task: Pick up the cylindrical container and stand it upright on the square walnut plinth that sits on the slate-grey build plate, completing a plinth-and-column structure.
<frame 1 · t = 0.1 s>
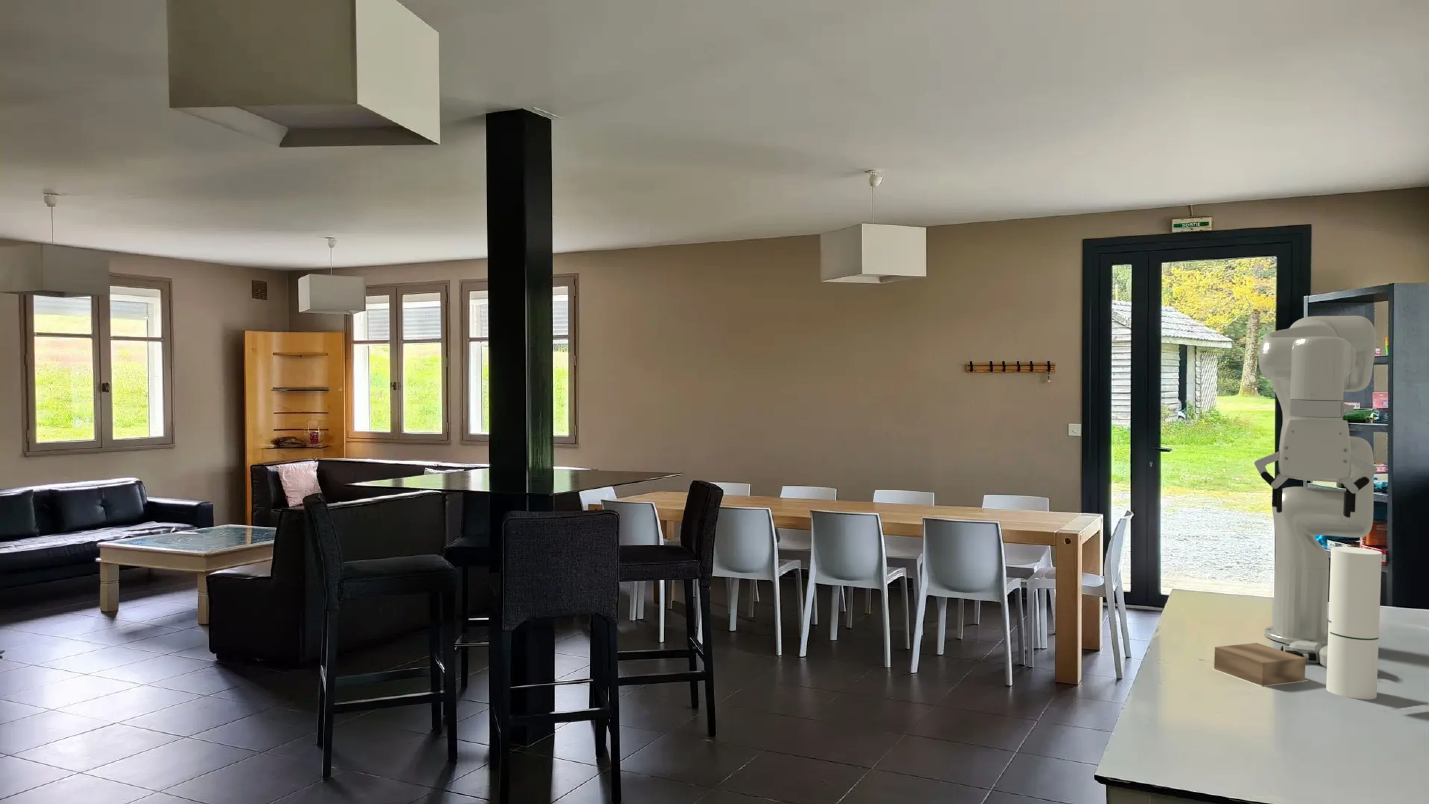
hand: (1312, 514, 161), 31 cm above the table, tool pointing down, fingers open, 9 cm apart
robot toy: (1325, 669, 181), on the table
cylindrical container: (1350, 698, 164), on the table
build plate: (1258, 679, 173), on the table
plinth: (1258, 674, 173), point 1 cm above the table, touching build plate
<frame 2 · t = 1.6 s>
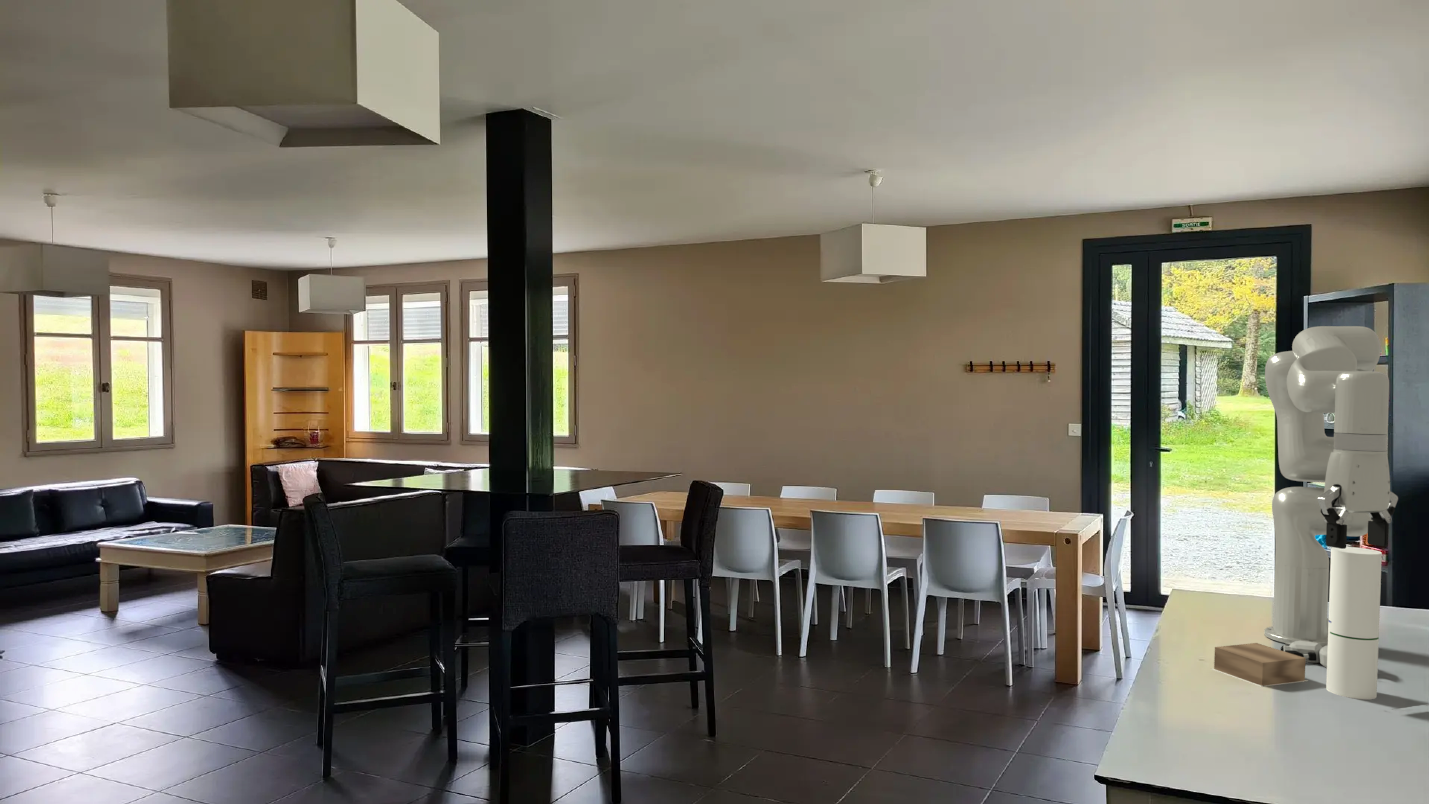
hand: (1357, 546, 163), 26 cm above the table, tool pointing down, fingers open, 9 cm apart
nothing on the table moved.
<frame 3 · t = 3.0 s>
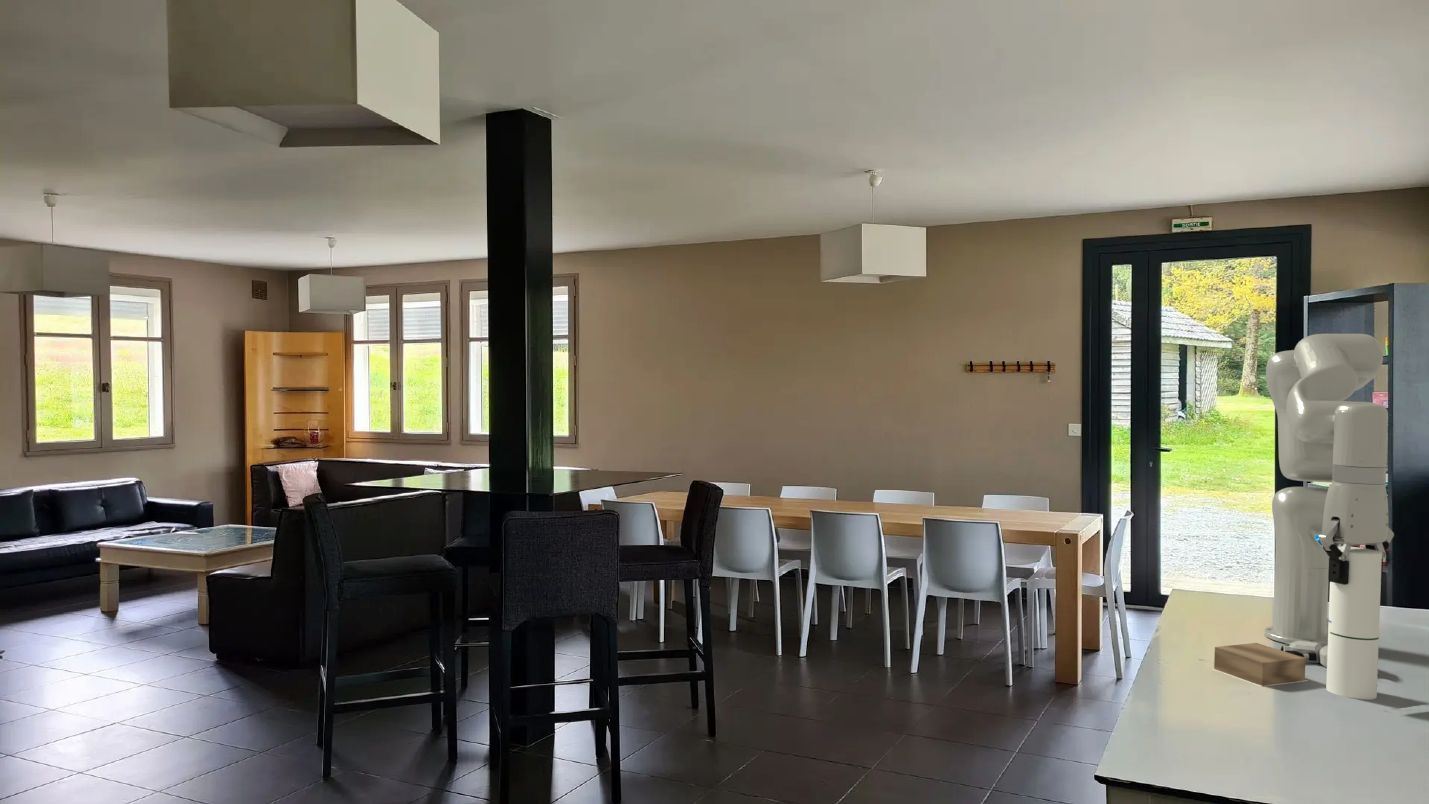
hand: (1355, 580, 164), 20 cm above the table, tool pointing down, fingers closed on cylindrical container, 7 cm apart
cylindrical container: (1351, 698, 164), on the table, touching gripper
everything else where it was.
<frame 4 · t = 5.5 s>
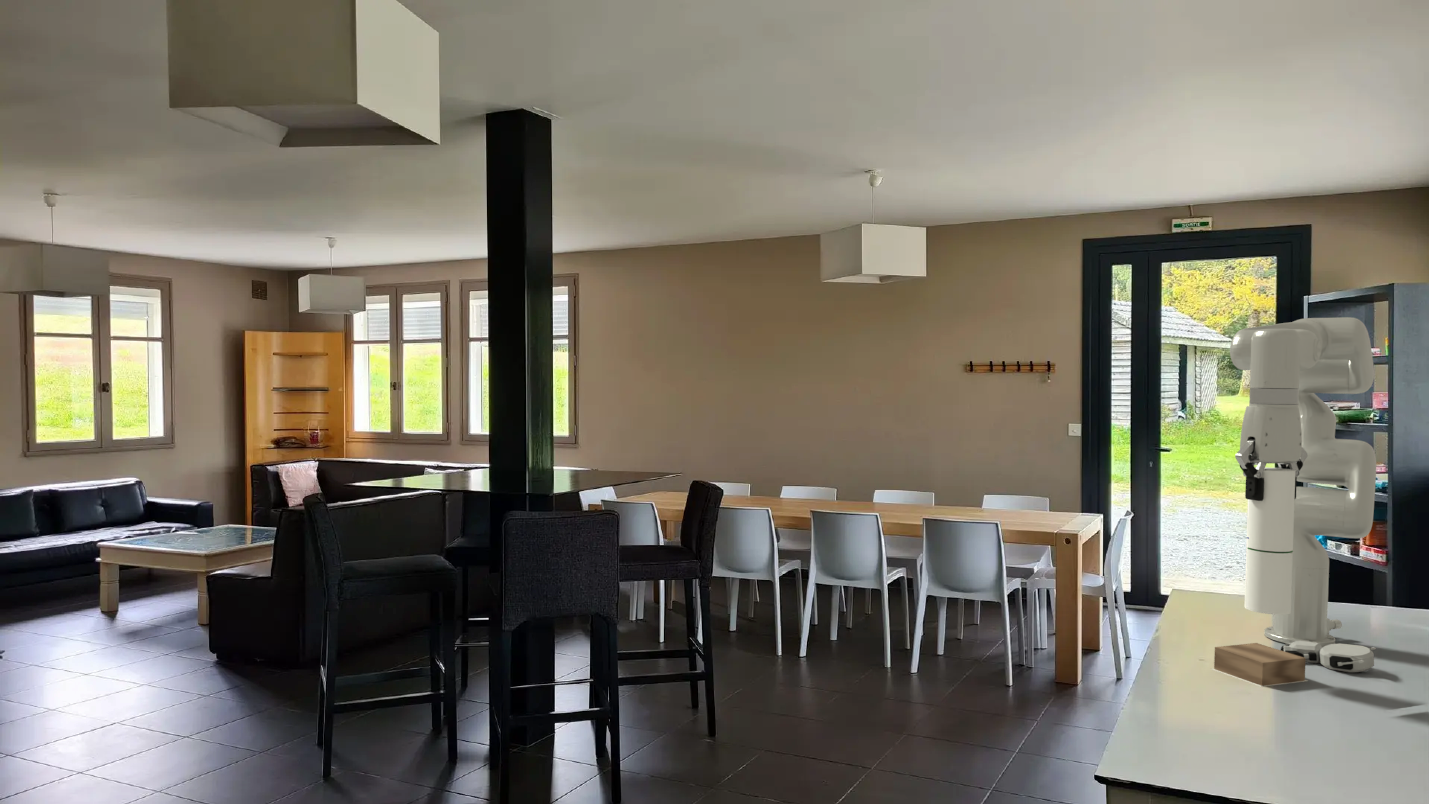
hand: (1270, 498, 172), 33 cm above the table, tool pointing down, fingers closed on cylindrical container, 7 cm apart
cylindrical container: (1267, 610, 172), point 13 cm above the table, touching gripper
everything else where it was.
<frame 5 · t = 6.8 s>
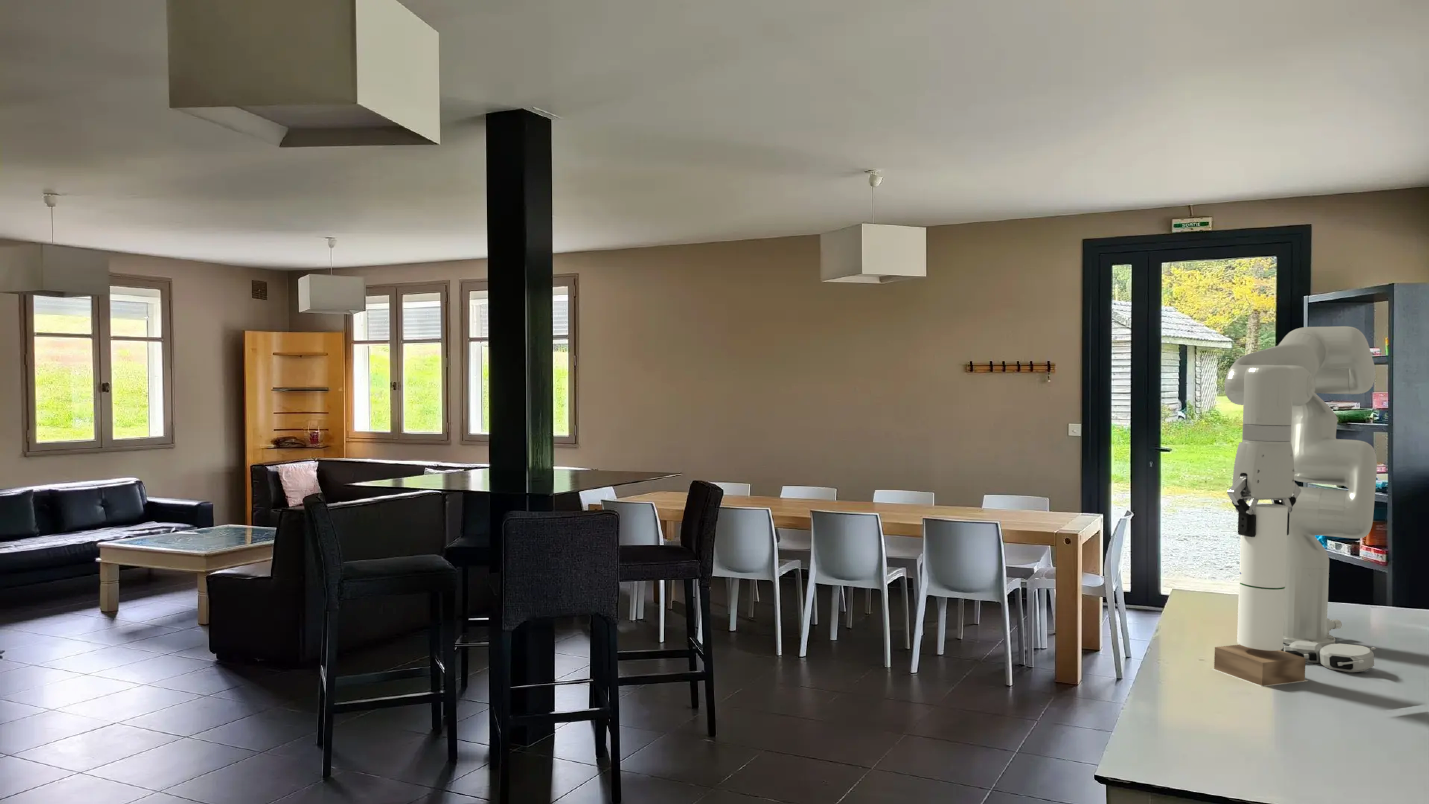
hand: (1263, 534, 172), 26 cm above the table, tool pointing down, fingers closed on cylindrical container, 7 cm apart
cylindrical container: (1259, 646, 173), point 6 cm above the table, touching gripper
everything else where it was.
when the fingers open (26 cm above the table, at t = 7.8 s): cylindrical container stays where it is, resting on plinth.
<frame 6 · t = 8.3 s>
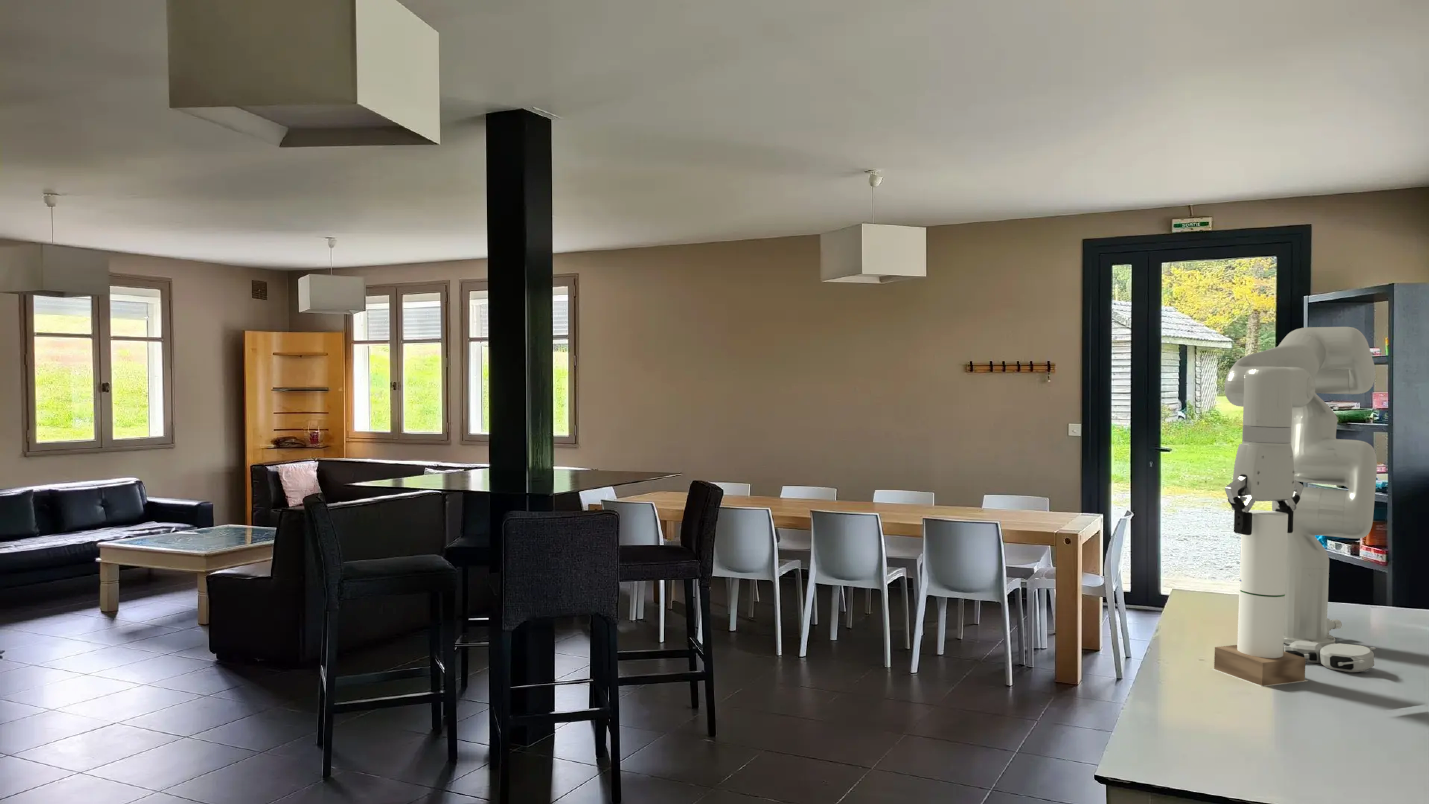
hand: (1263, 532, 172), 26 cm above the table, tool pointing down, fingers open, 9 cm apart
cylindrical container: (1259, 653, 173), point 5 cm above the table, touching plinth
plinth: (1258, 674, 173), point 1 cm above the table, touching build plate, cylindrical container
everything else where it was.
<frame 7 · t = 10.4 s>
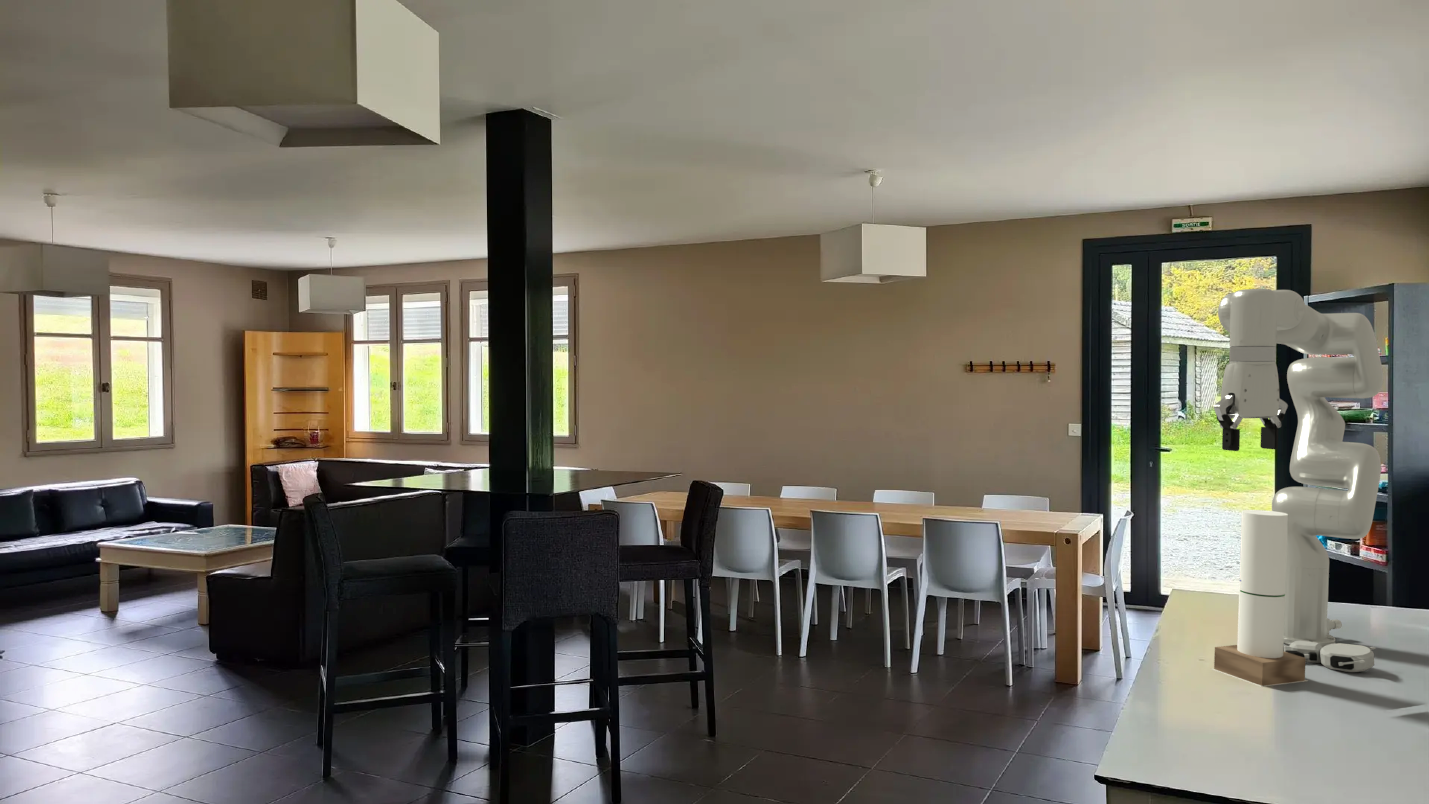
hand: (1250, 449, 179), 41 cm above the table, tool pointing down, fingers open, 9 cm apart
nothing on the table moved.
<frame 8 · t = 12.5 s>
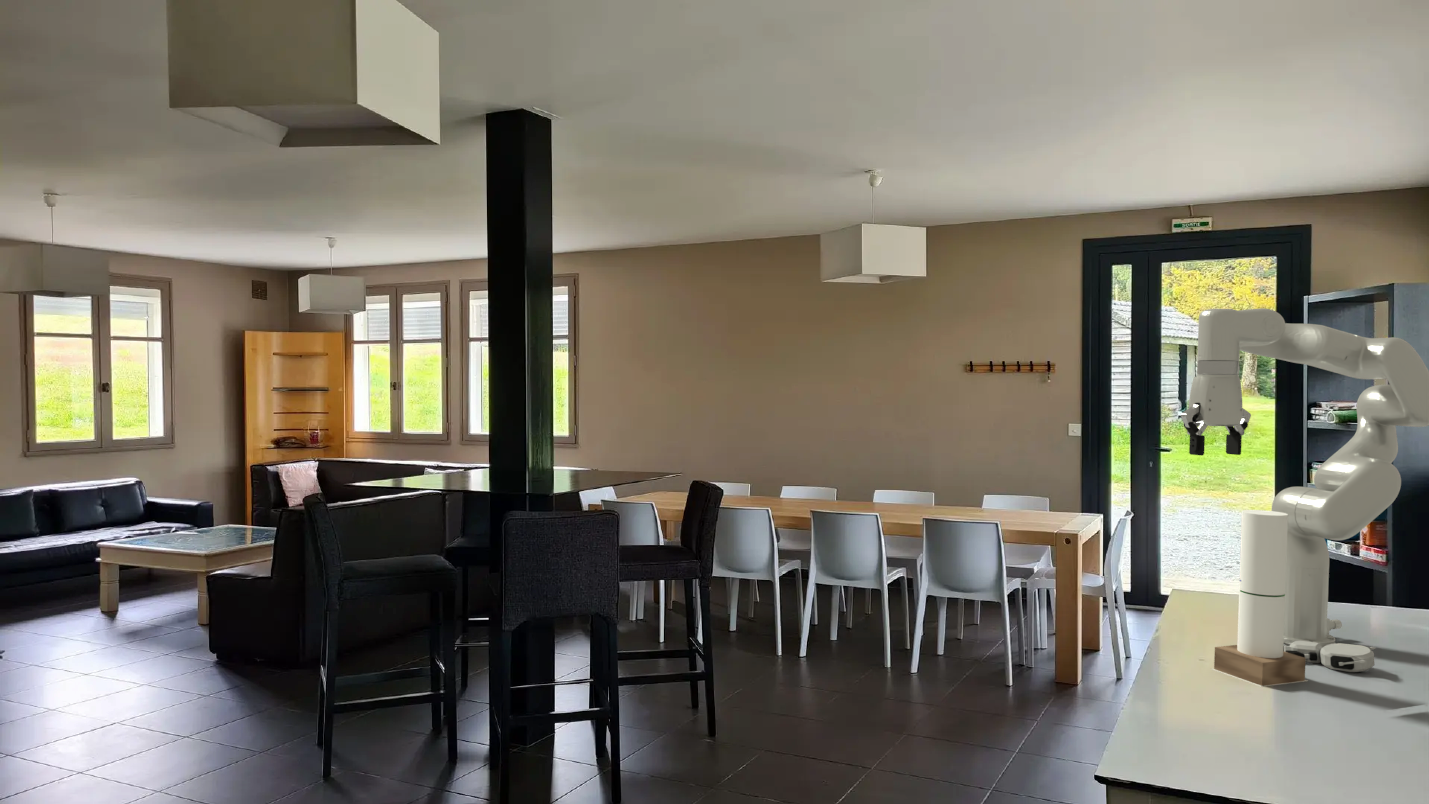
hand: (1215, 454, 197), 38 cm above the table, tool pointing down, fingers open, 9 cm apart
nothing on the table moved.
at the end: cylindrical container 0.2 cm from the plinth (horizontally); cylindrical container tilted 0°; cylindrical container touching plinth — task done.
